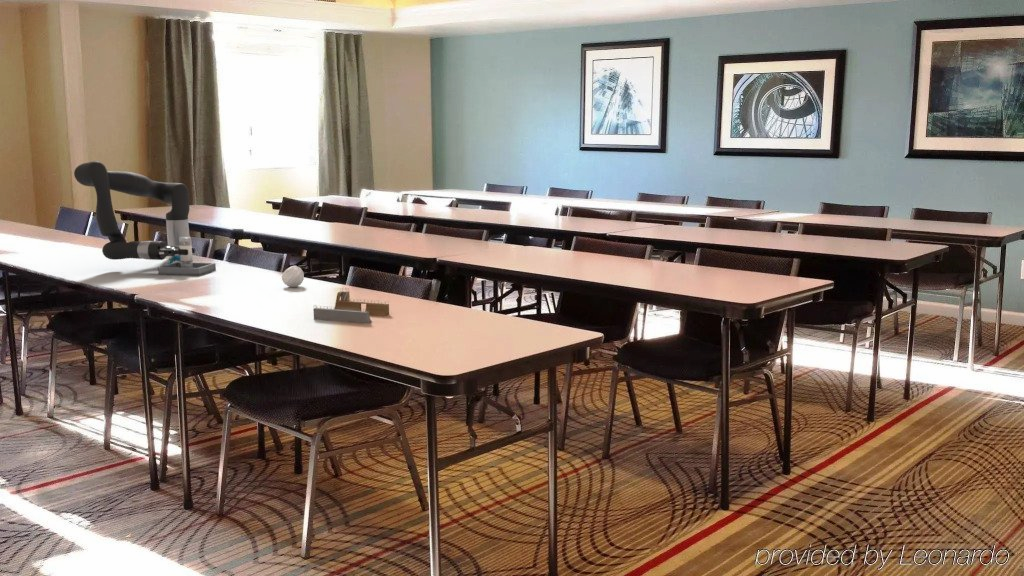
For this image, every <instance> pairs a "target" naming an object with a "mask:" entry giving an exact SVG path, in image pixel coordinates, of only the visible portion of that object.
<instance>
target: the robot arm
mask: <svg viewBox="0 0 1024 576" xmlns="http://www.w3.org/2000/svg"><path fill="white" fill-rule="evenodd" d="M73 174H74V175H73V176H74V178H75V180H76V181H77V182H78V183H79V184H80V185H81V186H85V187H94V189H95V193H96V207H95V218H96V219H95V220H96V221H97V223H96V224H97V225H98V230H99V231H100V234H101V235H102V236H103V237H107V238H108V240H109V242H107V243H105V244H104V245H103V247H102V251H101V252H102V255H103V256H104V257H105V258H106V259H107V260H108V259H109V260H125V259H126V260H127V259H134V260H135V259H136V260H137V259H138V260H139V259H140V260H148V261H149V260H152V261H154V260H155V261H163V260H165V259H166V257H168V259H170V258H171V256H175V255H177V256H178V255H179V258H180V255H188V250H187V249H180V246H179V238H180V237H191V236H190V228H189V227H190V226H189V214H190V192H189V189H188V186H186V184H185V183H181V182H180V183H179V182H162V181H156V180H152V179H151V178H150V177H147V176H145V175H143V174H140V173H137V172H136V173H135V172H131V171H125V170H123V171H121V170H118V171H117V170H116V171H115V170H112V171H111V170H107V168H106V166H105V164H104V163H103V162H102V161H99V160H93V161H88V162H83V163H81V164H79V165H78V166H77V167H76V168H75V169H74V171H73ZM111 191H113V192H119V193H122V194H126V195H130V196H135V197H141V198H142V197H143V198H152V199H155V200H158V201H160V202H163V203H166V204H170V205H171V209H170V211H168V212H166V214H165V223H166V224H165V225H166V235H167V238H166V239H167V244H166V242H165V241H163V240H162V241H161V240H144V241H143V240H141V241H140V240H135V241H133V240H132V241H128V242H127V240H126V238H125V237H124V235H123V233H122V231H121V230H120V228H119V225H118V221H117V218H116V216H115V210H114V208H113V203H112V195H111ZM195 253H196V249H195V247H192V254H195ZM170 260H171V259H170Z"/></svg>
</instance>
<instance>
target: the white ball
mask: <svg viewBox="0 0 1024 576" xmlns="http://www.w3.org/2000/svg"><path fill="white" fill-rule="evenodd" d="M304 275H305V273H304V271H303V270H302V268H301V267H300V266H297V265H292V266H290V267H288V268H286V269H285V270H284V271H283V273H282V275H281V281H282V282H283V284H284V285H286V286H287V287H289V288H297V287H300V286H301V284H302V283H303V281H304Z"/></svg>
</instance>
